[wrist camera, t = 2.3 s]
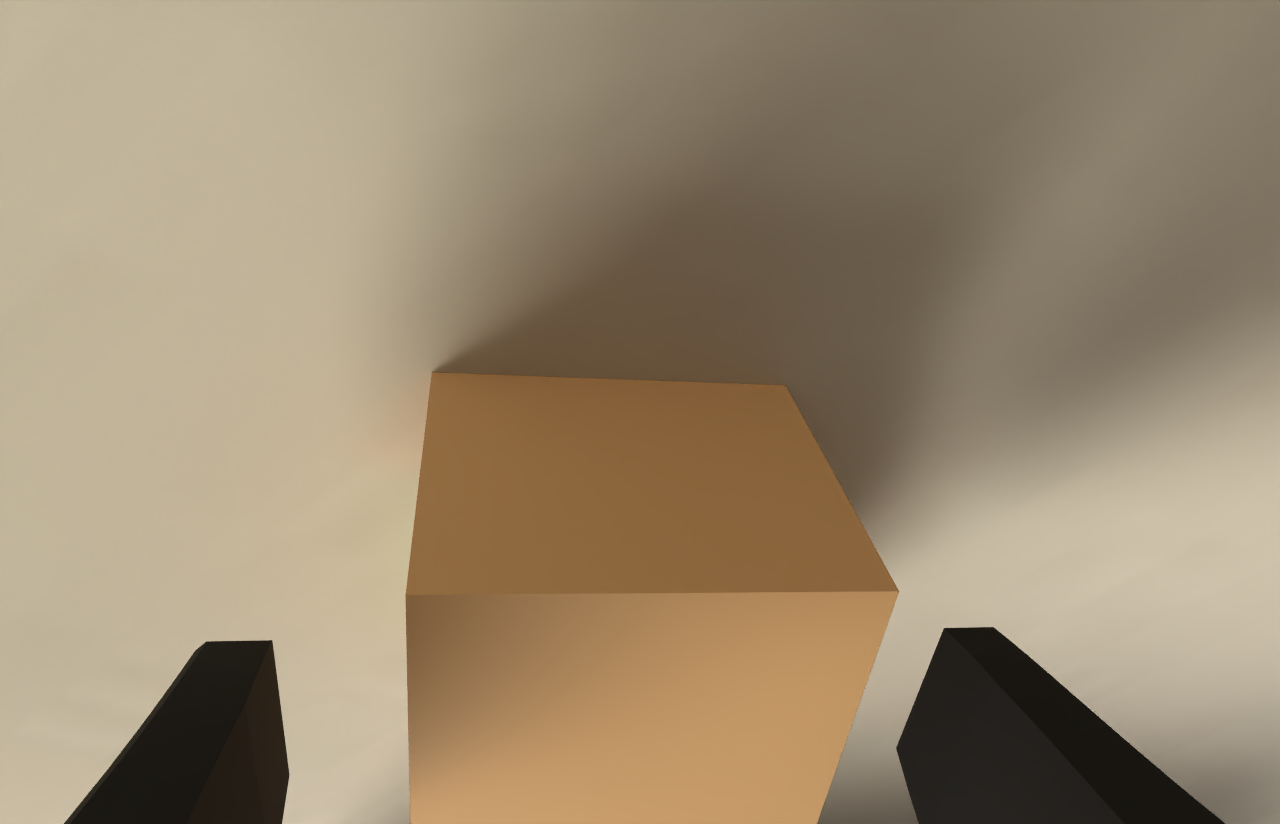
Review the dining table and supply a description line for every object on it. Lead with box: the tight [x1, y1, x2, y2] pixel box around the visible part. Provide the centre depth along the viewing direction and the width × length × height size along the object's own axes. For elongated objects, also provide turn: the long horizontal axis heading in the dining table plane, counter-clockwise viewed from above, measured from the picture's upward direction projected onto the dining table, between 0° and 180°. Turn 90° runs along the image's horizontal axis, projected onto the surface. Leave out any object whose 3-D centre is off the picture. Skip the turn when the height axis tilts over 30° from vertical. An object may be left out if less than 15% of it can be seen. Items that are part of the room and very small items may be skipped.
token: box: [406, 372, 899, 824], centre depth 11 cm, size 4×4×4 cm
